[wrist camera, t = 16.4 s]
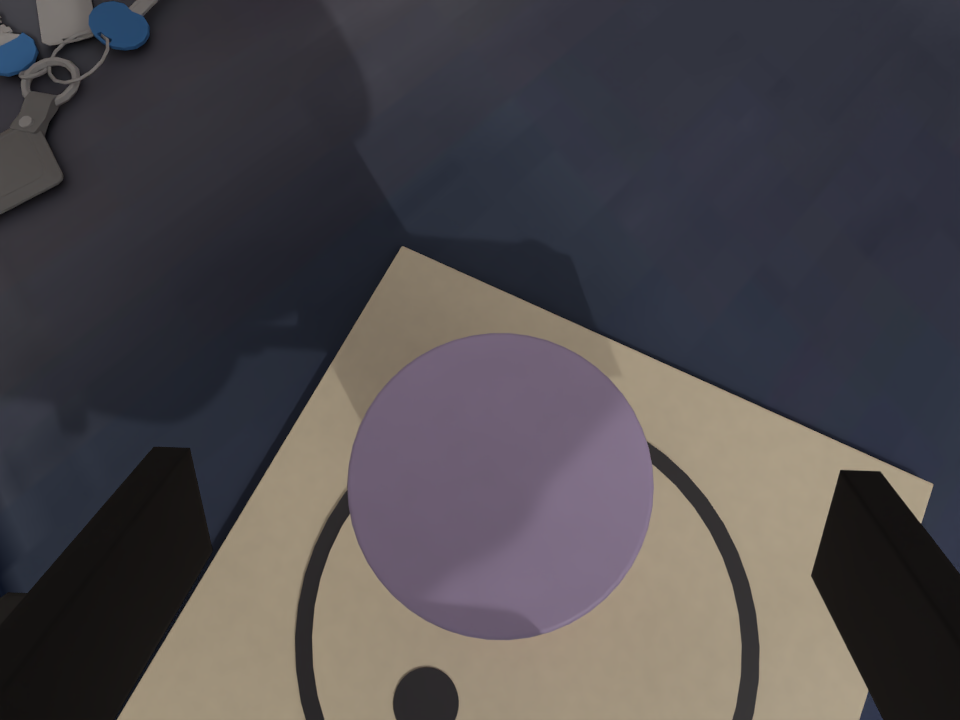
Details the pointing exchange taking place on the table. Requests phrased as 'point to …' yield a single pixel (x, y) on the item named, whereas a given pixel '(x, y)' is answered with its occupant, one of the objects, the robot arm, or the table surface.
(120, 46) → the key chain
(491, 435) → the cylinder
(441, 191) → the table surface
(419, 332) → the beige square board
